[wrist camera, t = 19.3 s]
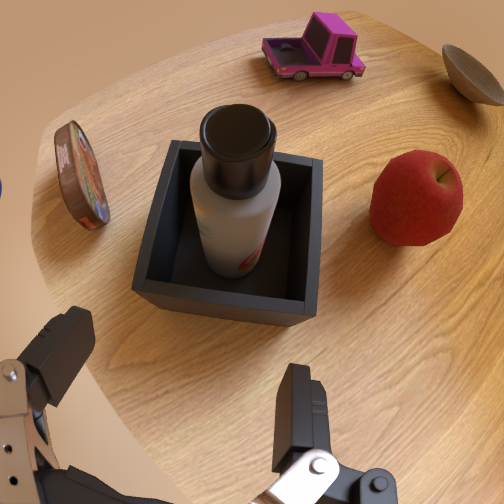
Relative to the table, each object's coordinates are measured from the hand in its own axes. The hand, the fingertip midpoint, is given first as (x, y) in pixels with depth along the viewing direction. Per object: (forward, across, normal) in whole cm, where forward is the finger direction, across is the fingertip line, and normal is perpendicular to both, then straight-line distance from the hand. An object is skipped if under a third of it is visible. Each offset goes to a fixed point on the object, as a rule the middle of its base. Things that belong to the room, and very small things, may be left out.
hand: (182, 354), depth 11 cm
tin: (+25, +20, +4) cm, 32 cm away
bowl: (+57, -41, -28) cm, 76 cm away
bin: (+22, 0, +7) cm, 23 cm away
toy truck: (+48, -5, -19) cm, 52 cm away
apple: (+28, -18, +1) cm, 33 cm away
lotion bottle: (+21, 0, +6) cm, 22 cm away
